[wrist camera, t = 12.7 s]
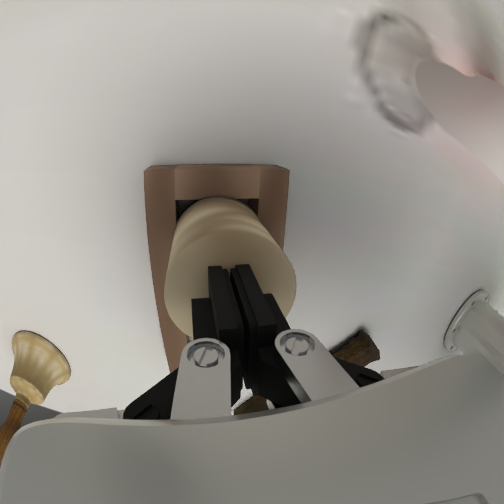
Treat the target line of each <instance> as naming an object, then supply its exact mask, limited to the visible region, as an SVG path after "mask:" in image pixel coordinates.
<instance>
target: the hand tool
mask: <svg viewBox="0 0 504 504" xmlns="http://www.w3.org/2000/svg"><path fill="white" fill-rule="evenodd" d="M332 356H333V357H336V358H339V359H342V360H344V361H347V362H350V363H353V364H356V365H359V366H362V367H365V366H366V365H368V364H369V363H370V362H373V361H376V360H379V359H380V352H379V349H378V348H377V346H376V345H375V343H374V342H373V340H372V339H371V338H370V336H369V335H367V334H366V333H365V332H363V331H362V330H361V331H360V333H359V335H358V336H357V337H356V338H350V339H349V343H348V344H347V345H345V346H344V347H342V348H341V349H340V350H338V351H337V352H335V353H334V354H332ZM266 410H269V408H268V405H267V399H265V398H263V397H261V396H253V397H251V398H250V399H249V400H248V401H246V402H245V403H244V404H242V405H241V406H240V407H239V408H238V409H236V410H235V411H234V415H238V414H246V413H253V412H260V411H266Z"/></svg>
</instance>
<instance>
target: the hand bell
mask: <svg viewBox="0 0 504 504" xmlns="http://www.w3.org/2000/svg"><path fill="white" fill-rule="evenodd" d="M12 349H13V352H14V356H15V361H14V367H13V370H12V374H11V377H10V384H11V386H12V388H13V389H14V391H15V392H16V397H15V400H14V401H13V405H12V407H11V410H10V413H9V416H8V418H7V420H6V421H5V422H4V424H3V425H2V426H1V427H0V467H1V463H2V460H3V457H4V454H5V451H6V448H7V446H8V444H9V442H10V440H11V438H12V437H13V435H14V434H15V433H16V432H17V431H18V430H19V429H20V426H21V423H22V420H23V418H24V416H25V413H26V411H27V408H28V407H29V405H30V403H32V404H37V405H38V404H42V403H43V402H44V400H45V398H46V396H47V395H48V393H49V391H50V390H51V389H52V388H53V387H54V386H56V385H60V384H63V383H65V382H66V381H67V380H68V379H69V378H70V374H71V372H70V367H69V364H68V362H67V361H66V359H65V357H64V356H63V355H62V354H61V352H60V351H59V350H58V349H57V348H56V347H55V346H54V345H53V344H51V343H50V342H49V341H47V340H46V339H44V338H43V337H41V336H39V335H37V334H34V333H32V332H28V331H20V332H17V333H16V334H15V335H14V337H13V339H12Z"/></svg>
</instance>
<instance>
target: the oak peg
mask: <svg viewBox="0 0 504 504" xmlns="http://www.w3.org/2000/svg"><path fill="white" fill-rule="evenodd" d="M240 264H249V265H250V266H251V269H252V271H253V273H254V275H255V277H256V279H257V281H258V284H259V286H260V288H261V290H262V292H263V294H266V293H272V294H273V296H274V298H275V300H276V302H277V304H278V306H279V307H280V309H281V311H282V313H283V315H284V317H286V316H287V314H288V313H289V311H290V309H291V307H292V305H293V302H294V299H295V294H296V277H295V273H294V269H293V267H292V265H291V263H290V261H289V259H288V258H287V256H286V255H285V254H284V252H283V251H282V250H281V248H280V247H279V246H278V244H277V243H276V242H275V240H274V239H273V238H272V236H271V235H270V234H269V232H268V231H267V230H266V228H265V227H264V226H263V224H262V223H261V222H260V220H259V218H258V217H257V215H256V214H255V213H254V212H253V210H252V209H251V208H250V207H248V206H247V205H246V204H244V203H243V202H241V201H239V200H237V199H234V198H231V197H225V196H214V197H209V198H205V199H202V200H200V201H198V202H196V203H194V204H193V205H191V206H190V207H189V208H188V209H186V210H185V212H184V213H183V214H182V215H181V217H180V218H179V220H178V222H177V224H176V227H175V230H174V235H173V243H172V248H171V253H170V258H169V263H168V269H167V274H166V280H165V287H164V301H165V305H166V309H167V311H168V314H169V316H170V317H171V319H172V321H173V322H174V323H175V325H176V326H177V327H178V328H179V329H180V330H181V331H182V332H183V333H185V334H186V335H187V336H189V337H191V338H192V339H193V325H192V306H191V299H193V298H209V289H208V266H222V269H227V271H228V274H229V278H230V270H231V268H235V265H240Z"/></svg>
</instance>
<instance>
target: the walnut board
mask: <svg viewBox="0 0 504 504" xmlns="http://www.w3.org/2000/svg"><path fill="white" fill-rule="evenodd" d="M289 172H290V170H288V169H286V168H283V167H280V166H277V165H258V164H188V165H164V166H151V167H149V168H148V169H146V170H145V171H144V191H145V208H146V222H147V234H148V244H149V254H150V262H151V270H152V278H153V285H154V292H155V298H156V304H157V310H158V316H159V322H160V327H161V332H162V337H163V342H164V347H165V352H166V356H167V361H168V365H169V370H170V373H172V372H173V371H174V370H175V369H177V368H178V367H179V364H180V359H181V354H182V351H183V348H184V347H185V346H186V345H187V344H188V343H189V337H188V336H187V335H186V334H185V333H183V332H182V331H181V330H180V329H179V328H178V327H177V326H176V325H175V323H174V322H173V321H172V319H171V317H170V316H169V314H168V311H167V309H166V305H165V301H164V287H165V280H166V274H167V269H168V263H169V258H170V253H171V248H172V243H173V235H174V230H175V227H176V224H177V222H178V220H179V211H178V200H192V199H205V198H209V197H214V196H225V197H231V198H234V199H249V207H250V208H251V209H252V210H253V212H254V213H255V214H256V215H257V217H258V218H259V220H260V222H261V223H262V224H263V226H264V227H265V228H266V230H267V231H268V232H269V234H270V235H271V236H272V238H273V239H274V240H275V242H276V243H277V244H278V246H279V247H280V248H281V250H282V251H283V245H284V234H285V223H286V211H287V199H288V186H289Z"/></svg>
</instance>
